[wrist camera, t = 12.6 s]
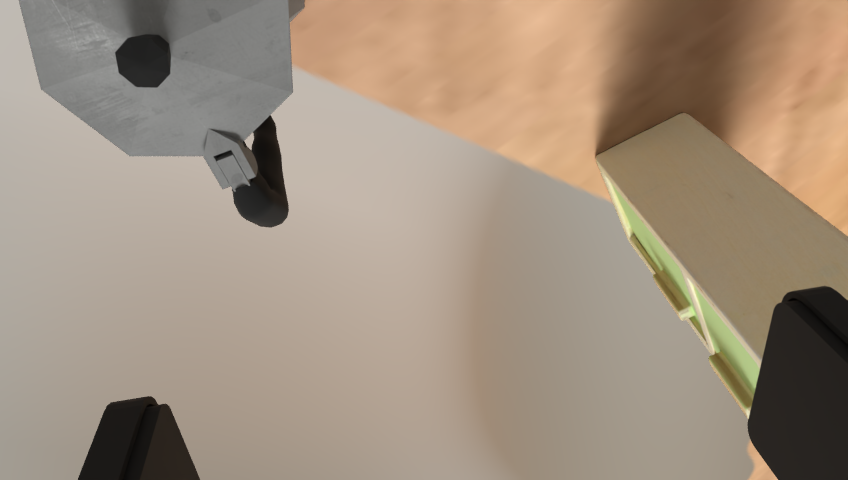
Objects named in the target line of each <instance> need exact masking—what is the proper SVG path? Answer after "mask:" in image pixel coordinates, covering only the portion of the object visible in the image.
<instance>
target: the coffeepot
mask: <svg viewBox="0 0 848 480" xmlns="http://www.w3.org/2000/svg"><path fill="white" fill-rule="evenodd" d="M19 3H20V7H21V11H22V15H23V19H24V23H25V27H26V31H27V35H28V39H29V42H30V47H31V51H32V55H33V59H34V63H35V67H36V71H37V75H38V79H39V83H40V87H41V90H43V91H44V92H46V93H47V94H48V95H49V96H51V97H52V98H53V99H55V100H56V101H57V102H59V103H60V104H61V105H63V106H64V107H65V108H67V109H68V110H69V111H71V112H72V113H73V114H75V115H76V116H77V117H79V118H80V119H81V120H83V121H84V122H85V123H87V124H88V125H89V126H90V127H92V128H93V129H94V130H96V131H97V132H98V133H100V134H101V135H103V136H104V137H105V138H106V139H108V140H109V141H110V142H112V143H113V144H114V145H116V146H117V147H118V148H120V149H121V150H122V151H124V152H125V153H126V154H128V155H129V156H204V159H205V160H206V162H207V164H208V166H209V167H210V169H211V171H212V172H213V174H214V176H215V177H216V179H217V181H218V182H219V184H220V186H221V187H222V189H225V188H228V187H230V186H231V187H232V191H233V197H234V204H235V206H236V208H237V209H238V212H239V213H240V214H241V216H242V217H244V218H245V219H246V220H248V221H250V222H253V223H255V224H257V225H259V226H262V227H274V226H277V225H279V224H282V223H283V221H284V220H285V219H286V218H287V215H288V210H289V209H288V201H287V196H286V191H285V185H284V179H283V172H282V162H281V153H280V148H279V144H278V140H277V135H276V126H275V123H274V121H273V119H272V117H271V114H272V113H273V112H274V111H275V110H276V109H277V108H278V107H279V106H280V105H281V104H282V103H283V102H284V101H285V100H286V99H287V98H288V97H289V96H290V95H291V94H292V93H293V83H292V62H291V42H290V22H291V21H292V20H293V19H294V18H295V17H296V16H297V14H298V13H299V12H300V11H301V10H302V9H303V8H304V7H305V5H304V0H19ZM252 132H253V133H254V141H253V144H252V150H250V149H249V148H248V147H247V146H246V144H245V142H244V140H245V139H246V138H247V137H248V136H249V135H250V134H251V133H252Z"/></svg>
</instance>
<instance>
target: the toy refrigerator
mask: <svg viewBox="0 0 848 480" xmlns="http://www.w3.org/2000/svg"><path fill="white" fill-rule="evenodd" d="M596 162H597V165H598V167H599V170H600V172H601V175H602V177H603V180H604V182H605V184H606V187H607V189H608V192H609V194H610V197H611V199H612V202H613V204H614V207H615V209H616V212H617V214H618V216H619V219H620V221H621V224H622V226H623V229H624V231H625V234H626V236H627V239H628V240H629V242H630V244H631V245H632V247H633V248H634V249H635V251H636V252H637V253H638V255H639V256H640V257H641V259H642V260H643V261H644V263H645V264H646V265H647V267H648V268H649V270H650V271H651V272H652V274H653V278H654V280H655V283H656V285H657V286H658V287H659V289H660V290H661V292H662V293H663V295H664V296H665V298H666V299H667V300H668V302H669V303H670V305H671V306H672V308H673V309H674V310H675V312H676V313H677V315H678V316H679V318H680V319H681V320H683V321H684V320H687V321H688V323H689V324H690V326H691V327H692V328H693V330H694V331H695V333H696V334H697V335H698V337H699V338H700V340H701V341H702V342H703V344H704V345H705V347H706V348H707V349H708V351H709V352H710V354H711V356H709V362H710V365H711V367H712V368H713V370H714V371H715V373H716V374H717V375H718V377H719V378H720V380H721V381H722V382H723V384H724V385H725V387H726V388H727V389H728V391H729V392H730V393H731V395H732V396H733V398H734V399H735V401H736V402H737V403H738V405H739V406H740V408H741V409H742V411H743V412H744V414H745V415H746V417H747V418H748V419H749V415H750V410H751V406H752V401H753V397H754V393H755V388H756V384H757V380H758V375H759V371H760V367H761V362H762V358H763V353H764V349H765V345H766V340H767V336H768V332H769V327H770V323H771V319H772V314H773V310H774V308H775V306H776V305H777V304H778V303H781V302H782V300H783V297H784V296H785V295H786V294H787V293H788V292H791V291H796V290H802V289H808V288H815V287H821V286H828V287H831V288H833V289H835V290H836V291H837V292H839V293H840V294H841V295H842V296H843V297H844V298H846V299H847V300H848V236H846V235H845V234H844V233H842V232H841V231H840V230H838V229H837V228H836V227H835V226H833V225H832V224H831V223H829V222H828V221H827V220H825V219H824V218H823V217H821V216H820V215H819V214H817V213H816V212H815V211H813V210H812V209H811V208H810V207H808V206H807V205H806V204H804V203H803V202H802V201H800V200H799V199H798V198H796V197H795V196H794V195H792V194H791V193H790V192H788V191H787V190H786V189H785V188H783V187H782V186H781V185H779V184H778V183H777V182H776V181H774V180H773V179H772V178H770V177H769V176H768V175H767V174H765V173H764V172H763V171H761V170H760V169H759V168H758V167H756V166H755V165H754V164H753V163H751V162H750V161H748V160H747V159H746V158H745V157H744V156H742V155H741V154H740V153H738V152H737V151H736V150H734V149H733V148H732V147H730V146H729V145H728V144H727V143H725V142H724V141H723V140H721V139H720V138H719V137H718V136H716V135H715V134H714V133H712V132H711V131H710V130H708V129H707V128H706V127H705V126H703V125H702V124H701V123H699V122H698V121H697V120H695V119H694V118H693V117H692V116H690V115H689V114H687V113H681V114H678V115H676V116H674V117H672V118H670V119H668V120H666V121H664V122H662V123H660V124H658V125H656V126H654V127H652V128H650V129H648V130H646V131H644V132H642V133H640V134H638V135H636V136H634V137H632V138H630V139H628V140H626V141H624V142H622V143H620V144H618V145H616V146H614V147H612V148H610V149H608V150H606V151H604V152H602V153H600V154H598V155H597V156H596Z"/></svg>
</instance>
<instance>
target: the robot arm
mask: <svg viewBox="0 0 848 480" xmlns="http://www.w3.org/2000/svg"><path fill="white" fill-rule="evenodd" d="M748 432H749V436H750V439H751V441H752V443H753V445H754V447H755V448H756V450H757V451H758V452H759V454H760V455H761V456H762V458H763V459H764V461H765V462H766V463H767V465H768V466H769V468H770V469H771V470H772V472H773V473H774V474H775V476H776V477H777V479H778V480H848V300H847V299H846V298H844V297H843V296H842V295H841V294H840V293H839V292H837V291H836V290H835V289H833V288H831V287H828V286H821V287H815V288H808V289H802V290H796V291H791V292H788V293H787V294H786V295H785V296H784V297H783V300H782V302H781V303H778V304H777V305H776V306H775V308H774V310H773V314H772V319H771V323H770V327H769V332H768V336H767V340H766V345H765V349H764V353H763V358H762V362H761V367H760V371H759V375H758V380H757V384H756V388H755V393H754V397H753V401H752V406H751V410H750V415H749V419H748ZM78 480H200V478H199V476H198V474H197V471H196V469H195V466H194V464H193V461H192V459H191V457H190V454H189V452H188V450H187V447H186V445H185V443H184V440H183V438H182V435H181V433H180V430H179V428H178V426H177V423H176V421H175V418H174V416H173V414H172V411H171V409H170V407H169V406H168V405H167V404H161V405H158V404H157V402H156V400H155V399H154V398H153V397H149V396H148V397H142V398H136V399H130V400H124V401H117V402H112V403H110V404H109V405H107V407H106V409H105V411H104V413H103V416H102V418H101V421H100V424H99V426H98V429H97V431H96V434H95V436H94V439H93V442H92V444H91V447H90V449H89V452H88V455H87V457H86V460H85V463H84V465H83V468H82V470H81V473H80V475H79V478H78Z"/></svg>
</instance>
